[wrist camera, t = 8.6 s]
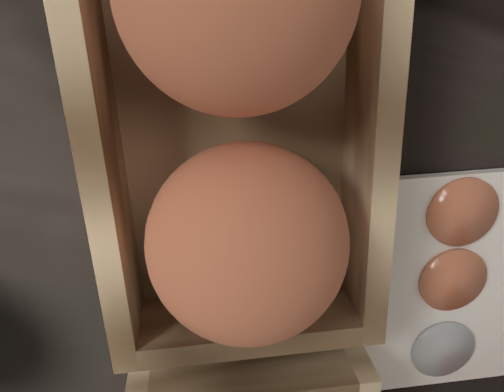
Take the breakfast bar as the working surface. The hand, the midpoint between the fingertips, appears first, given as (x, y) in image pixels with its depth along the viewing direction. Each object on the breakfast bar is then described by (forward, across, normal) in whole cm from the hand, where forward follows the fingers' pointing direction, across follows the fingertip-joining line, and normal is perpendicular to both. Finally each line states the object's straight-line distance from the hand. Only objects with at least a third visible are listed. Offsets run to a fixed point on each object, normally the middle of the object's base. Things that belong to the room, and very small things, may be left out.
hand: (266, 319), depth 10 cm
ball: (+7, 0, 0) cm, 7 cm away
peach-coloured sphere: (+7, 0, +7) cm, 10 cm away
